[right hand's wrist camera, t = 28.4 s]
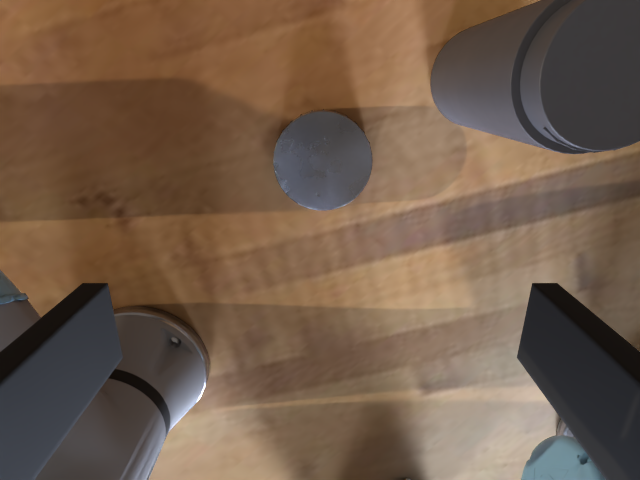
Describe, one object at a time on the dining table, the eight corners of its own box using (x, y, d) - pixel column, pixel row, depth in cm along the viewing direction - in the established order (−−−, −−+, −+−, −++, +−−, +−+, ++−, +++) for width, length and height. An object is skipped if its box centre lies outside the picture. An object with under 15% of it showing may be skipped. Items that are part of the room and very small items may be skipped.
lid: (375, 112, 39) (379, 114, 37) (364, 207, 42) (366, 214, 40) (277, 105, 39) (274, 106, 36) (274, 201, 42) (271, 207, 40)
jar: (460, 144, 40) (575, 193, 22) (412, 68, 38) (497, 52, 20) (541, 87, 38) (739, 88, 20) (496, 3, 36) (675, -82, 18)
